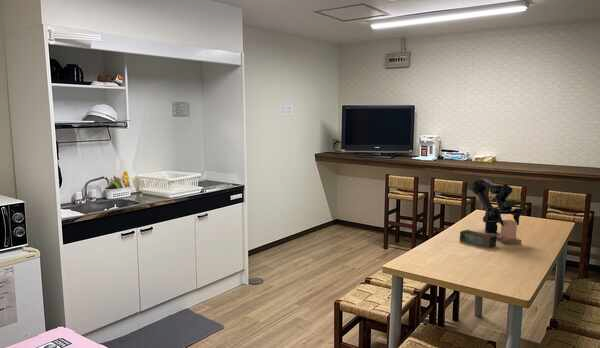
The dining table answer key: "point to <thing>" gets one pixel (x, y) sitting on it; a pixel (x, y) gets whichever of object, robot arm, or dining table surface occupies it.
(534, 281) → the dining table surface
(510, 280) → the dining table surface
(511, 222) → the reddish brown block
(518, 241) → the walnut block
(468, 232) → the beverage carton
